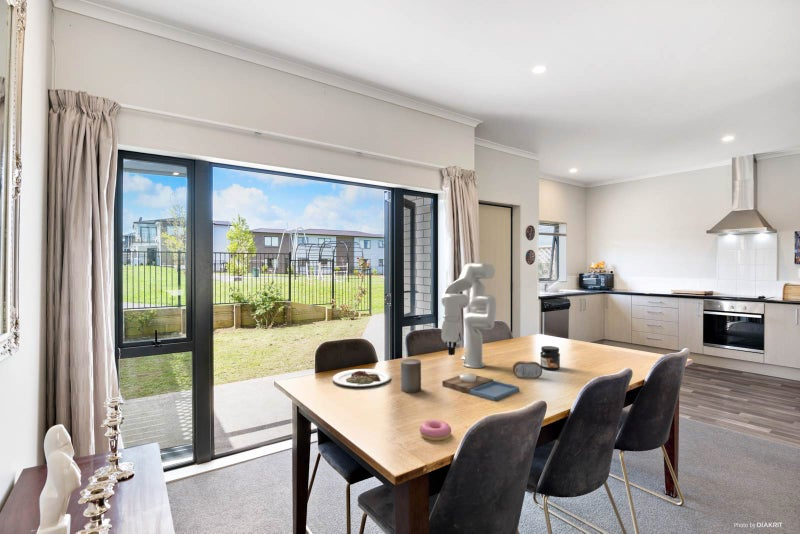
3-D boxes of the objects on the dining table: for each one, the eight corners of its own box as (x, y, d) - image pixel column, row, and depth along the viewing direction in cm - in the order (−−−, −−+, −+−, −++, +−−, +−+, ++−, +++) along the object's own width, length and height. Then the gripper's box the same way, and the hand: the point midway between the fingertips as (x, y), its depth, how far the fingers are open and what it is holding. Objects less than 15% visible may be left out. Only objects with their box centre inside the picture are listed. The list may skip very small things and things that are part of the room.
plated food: (354, 393, 181) (354, 386, 181) (321, 379, 204) (321, 373, 204) (402, 381, 201) (402, 374, 201) (367, 369, 223) (367, 363, 223)
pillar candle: (424, 388, 188) (423, 357, 188) (416, 394, 180) (416, 361, 179) (405, 385, 192) (405, 355, 192) (397, 391, 184) (397, 359, 184)
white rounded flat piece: (456, 380, 192) (456, 375, 192) (466, 376, 198) (466, 372, 198) (469, 383, 187) (469, 378, 187) (479, 380, 192) (479, 375, 192)
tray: (469, 393, 179) (469, 389, 179) (493, 384, 193) (493, 380, 193) (495, 401, 169) (495, 396, 169) (518, 391, 183) (518, 386, 183)
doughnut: (418, 429, 141) (418, 418, 141) (448, 428, 142) (448, 417, 142) (421, 443, 130) (421, 430, 130) (454, 442, 131) (454, 430, 131)
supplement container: (541, 370, 219) (541, 349, 219) (539, 365, 229) (539, 345, 229) (561, 371, 216) (561, 350, 216) (558, 366, 227) (558, 346, 227)
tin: (541, 377, 206) (541, 361, 206) (543, 379, 203) (543, 362, 203) (512, 376, 207) (512, 360, 207) (513, 378, 204) (513, 362, 204)
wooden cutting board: (442, 386, 191) (442, 380, 191) (467, 377, 205) (467, 373, 205) (469, 393, 180) (469, 388, 180) (493, 384, 193) (493, 379, 193)
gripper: (436, 318, 202) (435, 353, 202) (458, 320, 191) (458, 358, 191) (445, 317, 207) (445, 351, 207) (468, 319, 196) (467, 356, 196)
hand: (451, 354), depth 199 cm, fingers closed
